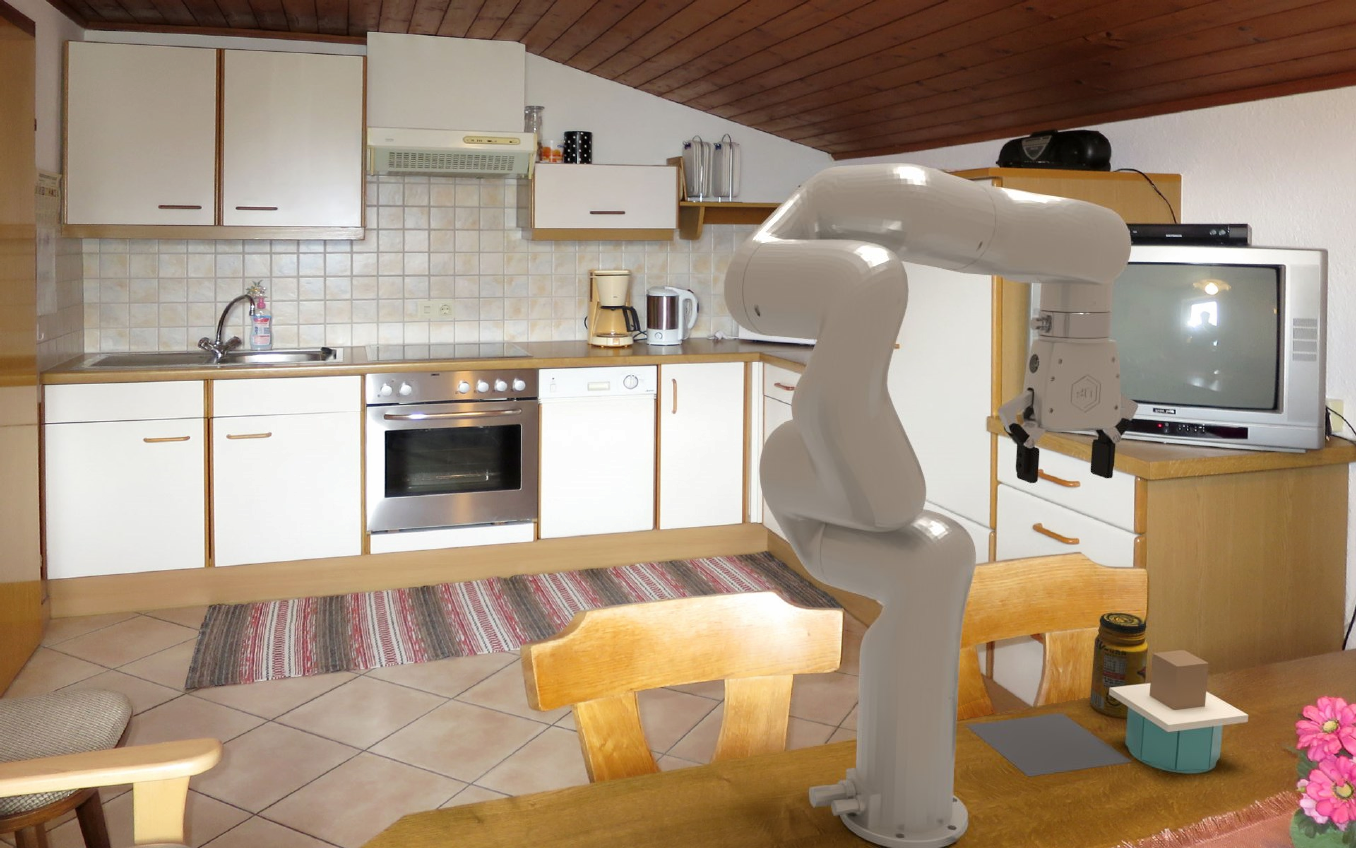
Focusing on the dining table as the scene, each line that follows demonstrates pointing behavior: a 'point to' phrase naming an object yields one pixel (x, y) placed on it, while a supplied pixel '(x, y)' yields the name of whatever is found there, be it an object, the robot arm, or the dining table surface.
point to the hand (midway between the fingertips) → (1064, 478)
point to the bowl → (1173, 745)
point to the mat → (1047, 744)
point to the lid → (1178, 695)
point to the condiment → (1117, 660)
